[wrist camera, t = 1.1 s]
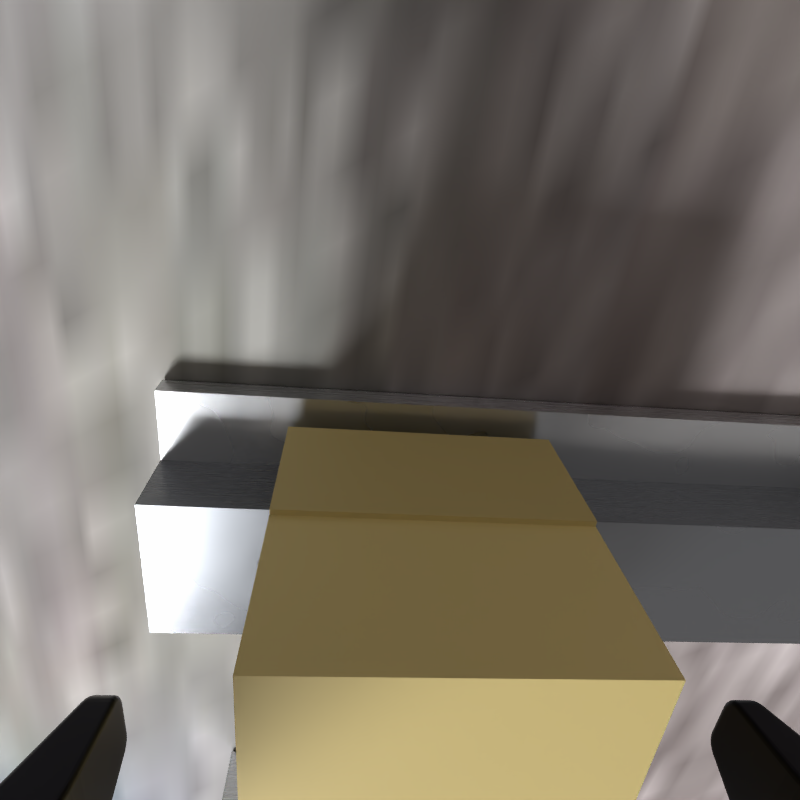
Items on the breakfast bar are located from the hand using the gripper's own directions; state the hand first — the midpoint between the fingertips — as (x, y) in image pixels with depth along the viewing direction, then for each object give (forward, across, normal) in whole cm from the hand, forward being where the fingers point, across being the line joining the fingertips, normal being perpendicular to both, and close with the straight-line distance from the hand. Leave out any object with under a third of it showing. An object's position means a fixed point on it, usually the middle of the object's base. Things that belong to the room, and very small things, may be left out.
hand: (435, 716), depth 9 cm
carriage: (+5, 0, 0) cm, 5 cm away
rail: (+5, -6, 0) cm, 8 cm away
